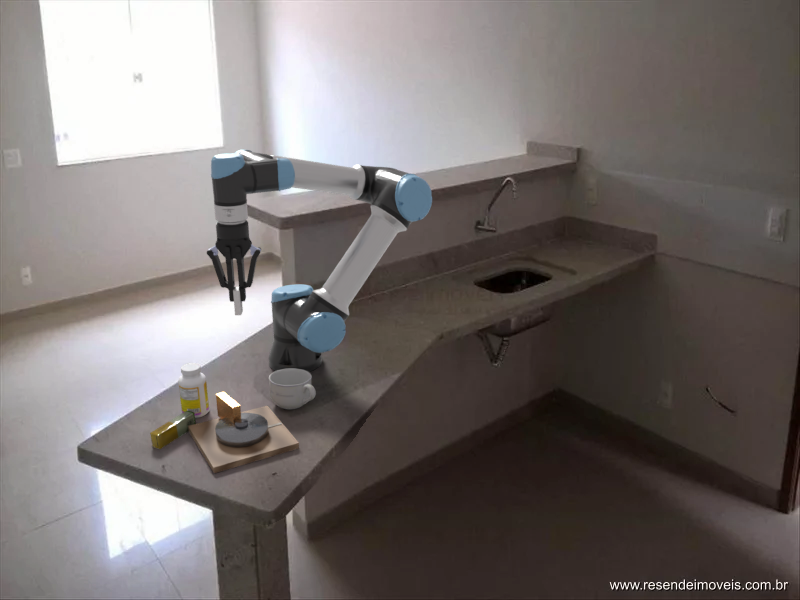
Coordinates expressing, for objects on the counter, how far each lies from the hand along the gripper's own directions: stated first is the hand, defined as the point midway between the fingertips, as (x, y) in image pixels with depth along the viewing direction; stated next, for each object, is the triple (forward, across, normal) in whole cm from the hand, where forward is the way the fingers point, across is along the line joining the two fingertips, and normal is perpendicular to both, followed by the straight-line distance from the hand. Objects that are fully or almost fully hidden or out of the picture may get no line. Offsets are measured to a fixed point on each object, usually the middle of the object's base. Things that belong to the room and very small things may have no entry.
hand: (238, 313), depth 181 cm
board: (+24, +2, -19) cm, 31 cm away
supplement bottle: (+25, -12, -6) cm, 28 cm away
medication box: (+25, -14, -17) cm, 33 cm away
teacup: (+25, +13, -3) cm, 28 cm away
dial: (+23, +1, -17) cm, 29 cm away
